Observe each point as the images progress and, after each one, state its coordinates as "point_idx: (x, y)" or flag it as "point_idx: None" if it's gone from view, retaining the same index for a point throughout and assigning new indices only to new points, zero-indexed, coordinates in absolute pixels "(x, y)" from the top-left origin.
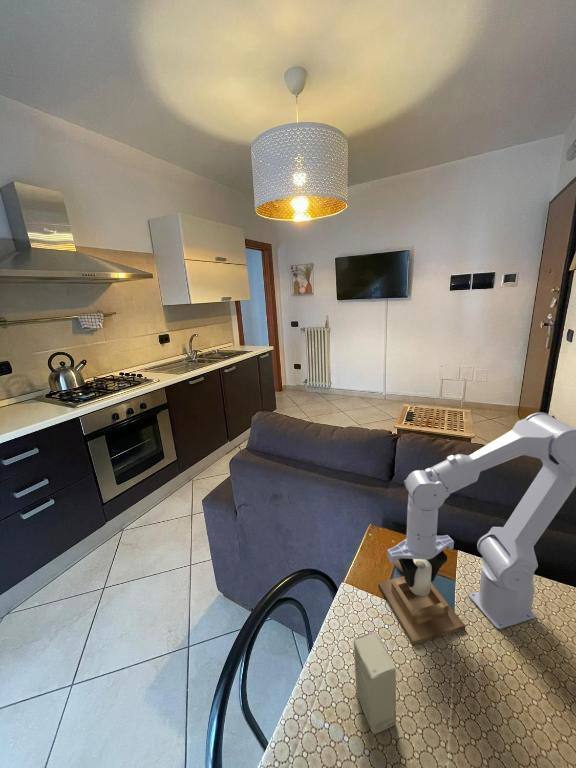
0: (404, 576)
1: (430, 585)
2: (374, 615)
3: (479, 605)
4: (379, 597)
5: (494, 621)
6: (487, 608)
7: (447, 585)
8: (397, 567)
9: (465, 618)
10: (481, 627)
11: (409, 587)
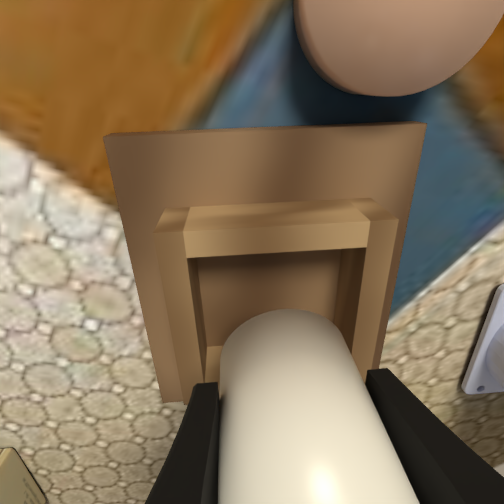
0: (187, 409)
1: (371, 297)
2: (48, 280)
3: (493, 331)
4: (98, 203)
5: (477, 379)
6: (502, 372)
7: (471, 215)
8: (297, 27)
9: (402, 345)
10: (422, 373)
11: (220, 364)
